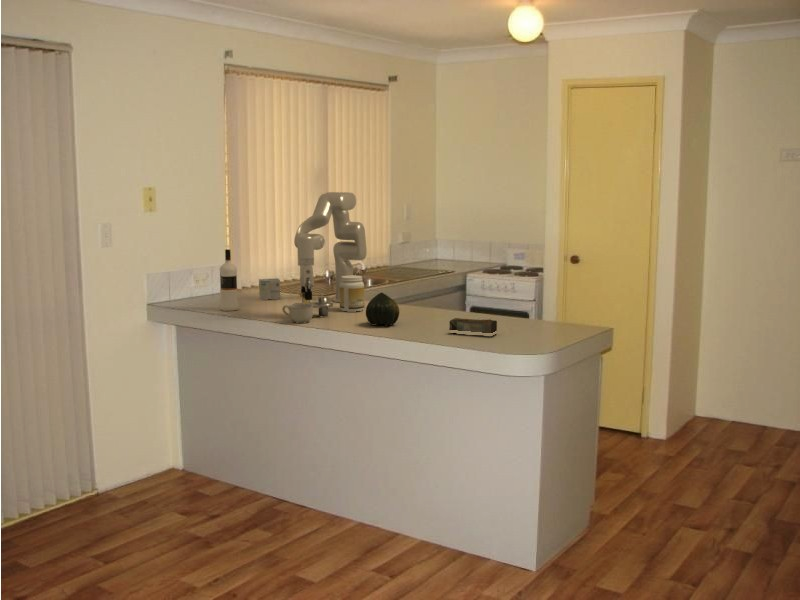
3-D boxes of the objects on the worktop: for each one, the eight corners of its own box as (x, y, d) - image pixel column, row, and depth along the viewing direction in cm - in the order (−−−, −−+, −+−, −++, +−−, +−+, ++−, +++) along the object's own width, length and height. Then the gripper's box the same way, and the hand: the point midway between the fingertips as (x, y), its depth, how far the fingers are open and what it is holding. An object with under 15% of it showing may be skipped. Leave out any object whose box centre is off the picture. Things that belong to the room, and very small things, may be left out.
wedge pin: (311, 316, 379) (310, 291, 377) (312, 317, 376) (312, 292, 374) (300, 316, 377) (299, 292, 375) (301, 318, 374) (301, 293, 372)
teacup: (316, 320, 367) (316, 303, 366) (306, 325, 357) (306, 307, 356) (289, 318, 371) (289, 301, 370) (278, 323, 361) (278, 305, 360)
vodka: (237, 311, 391) (235, 250, 386) (218, 311, 390) (216, 250, 385) (240, 308, 400) (238, 248, 395) (221, 308, 399) (219, 248, 395)
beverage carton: (454, 331, 346) (454, 316, 345) (497, 334, 339) (498, 319, 338) (448, 334, 339) (449, 319, 338) (492, 338, 332) (493, 322, 331)
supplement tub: (368, 309, 398) (368, 275, 395) (357, 313, 387) (357, 278, 384) (347, 307, 403) (346, 274, 400) (335, 311, 392) (334, 277, 389)
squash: (383, 317, 345) (395, 289, 352) (355, 315, 353) (367, 287, 360) (397, 335, 355) (408, 307, 362) (369, 332, 363) (381, 305, 370)
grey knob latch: (330, 314, 384) (330, 295, 383) (334, 317, 375) (334, 298, 374) (294, 315, 379) (294, 297, 378) (298, 319, 370) (297, 300, 369)
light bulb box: (278, 297, 434) (278, 278, 432) (280, 299, 428) (280, 279, 426) (258, 298, 431) (258, 278, 429) (260, 300, 424) (260, 280, 423)
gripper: (317, 264, 365) (318, 300, 368) (310, 259, 382) (311, 295, 384) (301, 264, 363) (301, 301, 366) (294, 260, 379) (295, 295, 382)
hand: (306, 298), depth 375 cm, fingers open, 9 cm apart
